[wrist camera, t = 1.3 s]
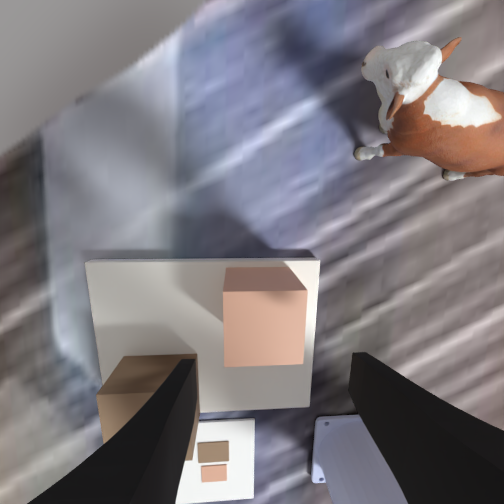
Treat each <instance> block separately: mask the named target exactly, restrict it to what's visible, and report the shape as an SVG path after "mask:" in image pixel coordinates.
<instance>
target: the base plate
mask: <svg viewBox="0 0 504 504" xmlns="http://www.w3.org/2000/svg"><path fill="white" fill-rule="evenodd" d="M236 267H290V269H291V270H292V271H293V272H294V274H295V275H296V276H297V277H298V279H299V280H300V281H301V282H302V284H303V285H304V286H305V287H306V289H307V290H308V296H307V311H306V327H305V342H304V358H303V364H295V365H270V366H245V367H224V326H223V287H224V279H225V272H226V268H236ZM85 269H86V276H87V283H88V290H89V297H90V303H91V310H92V317H93V324H94V331H95V337H96V344H97V351H98V358H99V365H100V371H101V378H102V385H104V383H105V382H106V380H107V379H108V378H109V376H110V375H111V373H112V372H113V371H114V369H115V368H116V366H117V365H118V363H119V362H120V361H121V359H122V358H123V356H143V355H171V354H197V355H198V377H199V400H200V413H204V412H223V411H242V410H261V409H280V408H299V407H309V406H310V392H311V379H312V365H313V352H314V338H315V324H316V311H317V297H318V284H319V270H320V260H319V259H317V258H200V259H92V260H89V261H87V262H85Z"/></svg>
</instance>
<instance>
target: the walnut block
mask: <svg viewBox="0 0 504 504" xmlns="http://www.w3.org/2000/svg"><path fill="white" fill-rule="evenodd" d="M181 359H196V379H197V404H196V412H195V419H194V425H193V429H192V434H191V438H190V442H189V446H188V450H187V454H186V459H185V461H190V460H192V459H193V453H194V447H195V441H196V435H197V429H198V422H199V416H200V400H199V377H198V355H197V354H171V355H143V356H123V358H122V359H121V361H120V362H119V363H118V365H117V366H116V368H115V369H114V371H113V372H112V373H111V375H110V376H109V378H108V379H107V380H106V382H105V383H104V385H103V386H102V387H101V389H100V390H99V392H98V393H97V395H96V397H97V404H98V410H99V416H100V423H101V429H102V436H103V442H104V444H105V443H106V442H107V441H108V440H109V439H110V438H111V437H112V436H113V435H115V434H116V433H117V432H118V431H119V430H120V429H121V428H122V427H123V426H124V425H125V424H126V423H127V422H128V421H129V420H130V419H131V418H132V417H133V416H134V415H135V414H136V413H137V412H138V410H139V409H140V408H141V407H142V406H143V405H144V404H145V403H146V402H147V401H148V400H149V398H150V397H151V396H152V395H153V394H154V393H155V391H156V390H157V389H158V388H159V387H160V385H161V384H162V383H163V382H164V381H165V379H166V378H167V377H168V376H169V374H170V373H171V372H172V370H173V369H174V368H175V366H176V365H177V364H178V362H179V361H180V360H181Z"/></svg>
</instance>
